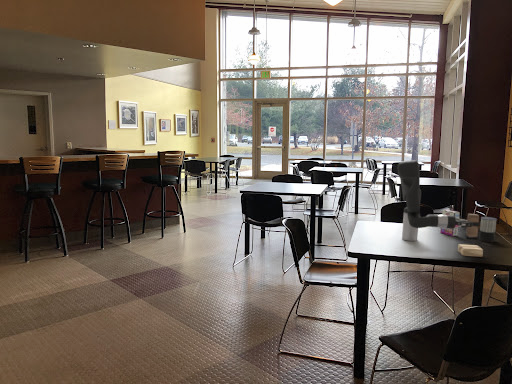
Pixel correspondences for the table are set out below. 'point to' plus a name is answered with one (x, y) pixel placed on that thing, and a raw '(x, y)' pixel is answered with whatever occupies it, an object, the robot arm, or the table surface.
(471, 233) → the walnut block
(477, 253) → the pedestal
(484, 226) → the milk frother
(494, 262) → the table surface
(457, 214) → the candy bar box
